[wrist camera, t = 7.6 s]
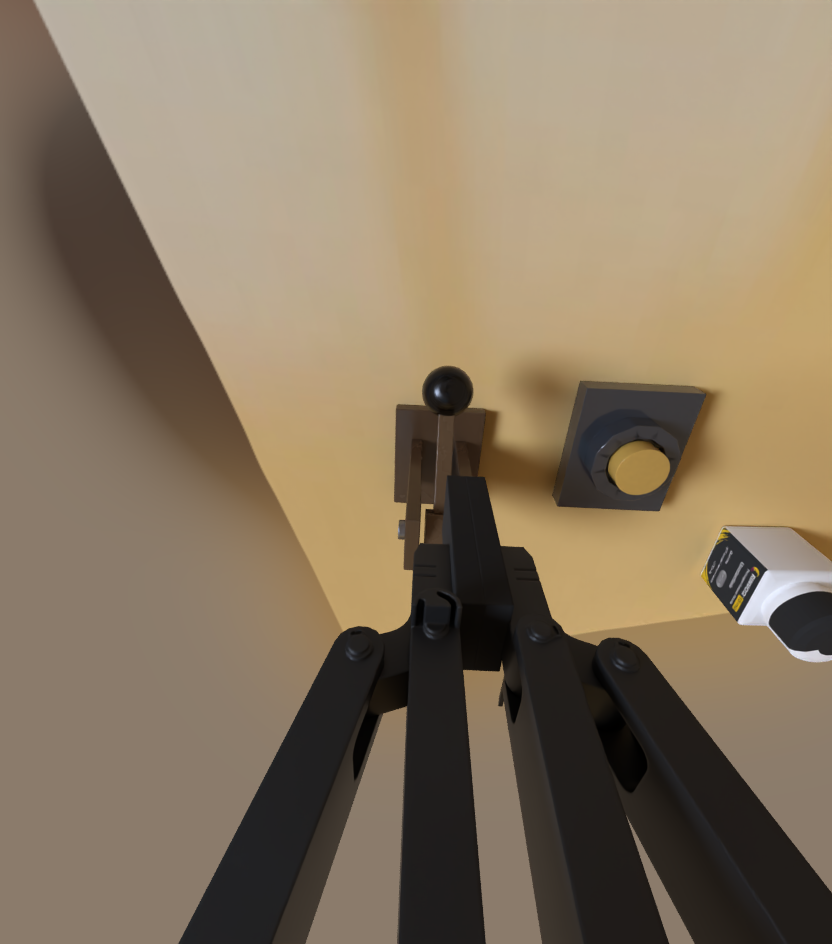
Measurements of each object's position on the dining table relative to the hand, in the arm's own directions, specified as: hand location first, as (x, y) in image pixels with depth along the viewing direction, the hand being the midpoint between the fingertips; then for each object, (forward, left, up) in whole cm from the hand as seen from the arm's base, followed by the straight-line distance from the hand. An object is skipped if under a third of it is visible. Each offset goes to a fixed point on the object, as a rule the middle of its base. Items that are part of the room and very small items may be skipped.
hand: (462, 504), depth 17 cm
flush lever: (+5, 0, -14) cm, 15 cm away
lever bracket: (+9, 0, -22) cm, 24 cm away
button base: (+7, +17, -22) cm, 29 cm away
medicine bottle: (+19, +34, -22) cm, 45 cm away
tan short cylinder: (+7, +17, -19) cm, 26 cm away
